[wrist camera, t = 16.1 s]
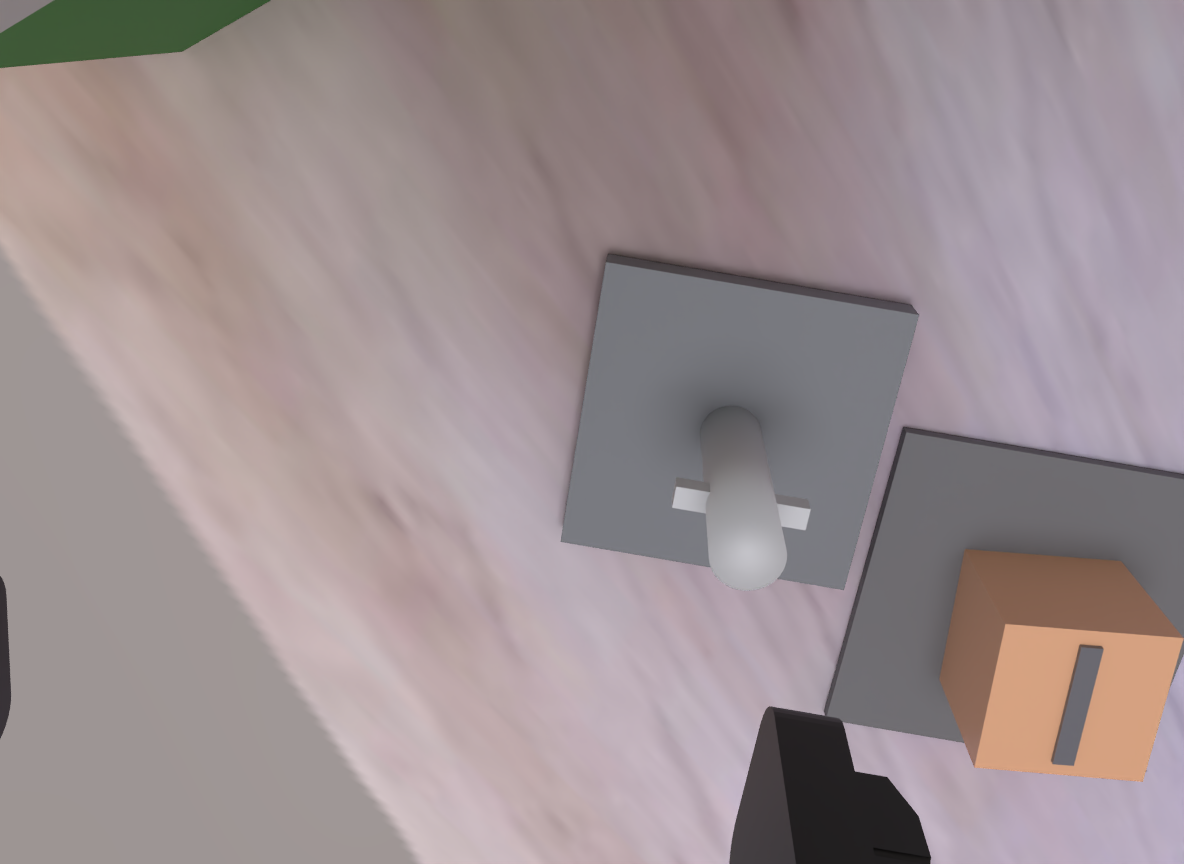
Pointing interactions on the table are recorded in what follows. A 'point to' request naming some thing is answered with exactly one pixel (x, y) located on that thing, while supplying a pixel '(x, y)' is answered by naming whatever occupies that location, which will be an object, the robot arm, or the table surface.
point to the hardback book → (108, 27)
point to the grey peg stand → (733, 422)
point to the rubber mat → (990, 523)
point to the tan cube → (1057, 665)
